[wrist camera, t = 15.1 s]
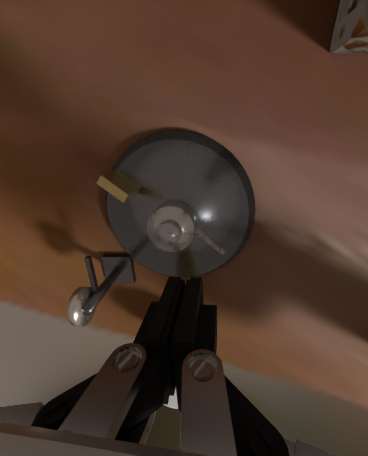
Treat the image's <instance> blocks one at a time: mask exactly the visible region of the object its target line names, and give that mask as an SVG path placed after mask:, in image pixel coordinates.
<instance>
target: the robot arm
mask: <svg viewBox="0 0 368 456" xmlns="http://www.w3.org/2000/svg"><path fill="white" fill-rule="evenodd" d="M216 347H217V305H204V304H203V281H202V278H197V277H191V280H187V282H186V285H185V282H184V280H181V278H180V277H169V278H168V281H167V283H166V286H165V288H164V291H163V293H162V296H161V298H160V301H159V302H152V303H151V304H150V306H149V308H148V311H147V313H146V315H145V317H144V320H143V322H142V324H141V326H140V329H139V331H138V333H137V335H136V338H135V340H134V342H133V343H129V344H124V345H122V346H120V347H118V348H117V349H115V350H114V351H113V352H112V354H111V355H110V356H109V358H108V359H107V360H106V362H105V363H104V365H103V366H102V368H101V369H100V371H99V372H98V373H97V374H95V375H93V376H91V377H90V378H88V379H86V380H85V381H83V382H81V383H79V384H78V385H76V386H74V387H73V388H71V389H69V390H67V391H66V392H64V393H62V394H61V395H59V396H57V397H56V398H54V399H52V400H51V401H49V402H48V403H47V404H46V405H43V404H42V402H38V403H30V404H22V405H14V406H6V407H0V456H337V455H335V454H332V453H330V452H327V451H325V450H322V449H320V448H317V447H314V446H312V445H310V444H307V443H305V442H302V441H300V440H297V439H296V442H293V441H290V440H288V439H285V438H283V437H282V435H281V434H280V433H279V432H278V430H277V429H276V428H275V427H274V426H273V425H272V424H271V423H270V422H269V421H268V420H267V419H266V418H265V417H264V416H263V415H262V414H261V413H260V412H259V411H258V409H257V408H255V406H254V405H253V404H252V403H251V402H250V401H249V400H248V399H247V398H246V397H245V396H244V395H243V394H242V393H241V392H240V391H239V390H238V389H237V388H236V387H235V386H234V385H233V384H232V383H231V382H230V380H228V378H227V377H225V375H224V371H223V365H222V362H221V360H220V358H219V357H218V355H216ZM175 388H176V393H177V403H178V409H179V410H180V412H181V441H180V451H178V450H172V449H166V448H161V447H155V446H149V445H144V444H145V442H146V439H147V436H148V434H149V431H150V429H151V426H152V424H153V421H154V417H155V411H156V410H157V409H159V408H160V407H161V406H162V404H166V405H168V401H169V396H174V393H175Z"/></svg>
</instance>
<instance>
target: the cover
mask: <svg viewBox="0 0 368 456" xmlns="http://www.w3.org/2000/svg"><path fill="white" fill-rule="evenodd" d="M196 225H197V216H196V213H195V211H194V209H193V208H192V207H191V206H190V205H189V204H188V203H186V202H184V201H182V200H178V199H172V200H168V201H165V202H164V203H162V204H161V205H160V206H159V207H158V208H157V209H156V211H155V212H154V213H153V214H152V215H151V216H150V218H149V220H148V223H147V233H148V236H149V238H150V240H151V242H152V243H153V244H154V245H155V246H156V247H158V248H159V249H161V250H163V251H167V252H178V251H181V250H183V249H185V248H186V247H187V246H188V245H189V244H190V243H191V241H192V239H193V236H194V232H195V229H196Z"/></svg>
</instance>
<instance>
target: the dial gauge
mask: <svg viewBox="0 0 368 456" xmlns="http://www.w3.org/2000/svg"><path fill="white" fill-rule="evenodd" d="M101 258H102V263H103V267H104V272H105V276H106V279H105V280H104V281H103V283H102V284H101V285H100V286H99V287H98V284H97V280H96V275H95V271H94V267H93V263H92V259H91V256H86V257H85V258H84V259H85V263H86V267H87V271H88V275H89V279H90V283H91V287H92V288H91V287H79V288H77V289H76V290H75V291H74V292H73V294H72V295H71V298H70V300H69V303H68V308H67V316H68V320H69V322H70V324H71V325H73V326H85V325H87V324H88V323H89V322H90V321H91V319H92V317H93V315H94V313H95V309H96V306H97V305H98V303H99V302H100V301H101V299H102V298H103V297H104V295H105V294H106V293H107V291H108V290H109V289H110V287H111V286H112V285H113V283H135V281H136V277H135V271H134V265H133V259H132V257H131V256H130V255H123V254H104V255H103V256H102V257H101Z"/></svg>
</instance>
